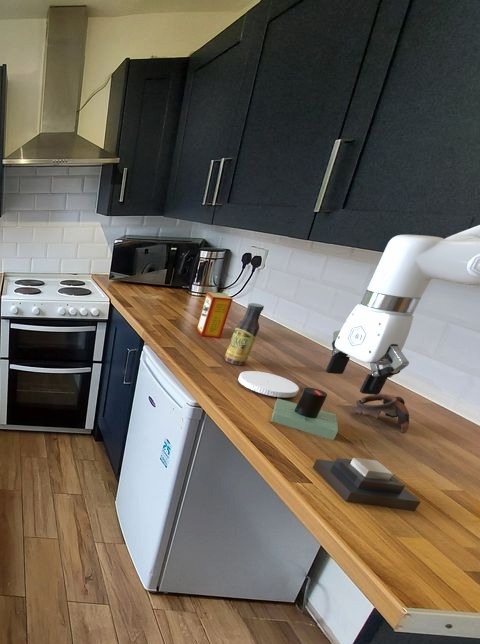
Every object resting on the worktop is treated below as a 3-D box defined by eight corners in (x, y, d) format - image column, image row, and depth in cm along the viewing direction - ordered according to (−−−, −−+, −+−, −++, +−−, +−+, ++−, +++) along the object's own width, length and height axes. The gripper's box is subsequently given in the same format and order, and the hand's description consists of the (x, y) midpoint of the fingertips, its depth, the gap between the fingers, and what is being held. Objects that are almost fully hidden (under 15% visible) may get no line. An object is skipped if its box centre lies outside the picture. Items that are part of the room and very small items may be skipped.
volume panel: (332, 423, 99) (337, 413, 97) (333, 440, 91) (338, 430, 90) (273, 406, 105) (277, 397, 104) (270, 421, 98) (274, 412, 97)
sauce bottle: (219, 360, 134) (238, 302, 126) (231, 357, 137) (250, 300, 128) (238, 367, 129) (258, 307, 121) (250, 365, 131) (271, 306, 123)
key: (372, 467, 76) (376, 460, 76) (388, 481, 73) (393, 473, 72) (349, 464, 77) (353, 457, 76) (364, 478, 73) (368, 470, 73)
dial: (290, 407, 100) (300, 385, 97) (310, 410, 99) (320, 387, 96) (300, 416, 96) (311, 393, 93) (321, 419, 95) (332, 395, 92)
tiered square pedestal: (373, 475, 80) (382, 459, 78) (414, 511, 71) (426, 493, 69) (312, 467, 82) (320, 451, 80) (345, 501, 73) (355, 484, 71)
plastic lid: (273, 379, 121) (276, 372, 120) (308, 402, 108) (311, 393, 107) (227, 377, 121) (229, 369, 120) (256, 399, 108) (259, 391, 107)
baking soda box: (196, 329, 165) (207, 290, 158) (213, 331, 163) (225, 292, 157) (201, 336, 156) (213, 296, 150) (220, 338, 155) (233, 297, 148)
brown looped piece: (403, 440, 93) (393, 408, 93) (352, 435, 102) (343, 406, 101) (425, 417, 98) (416, 386, 97) (374, 414, 107) (365, 386, 106)
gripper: (335, 291, 85) (304, 364, 92) (407, 314, 69) (363, 400, 76) (373, 293, 84) (339, 367, 91) (455, 317, 68) (406, 404, 75)
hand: (350, 382), depth 84 cm, fingers open, 9 cm apart
